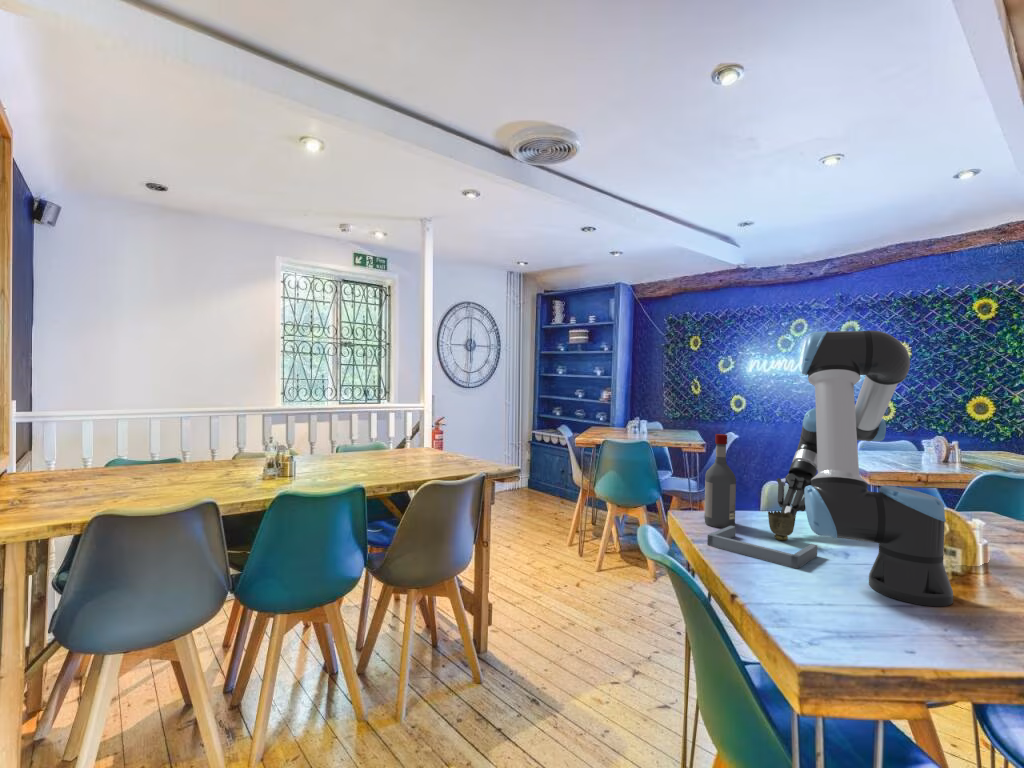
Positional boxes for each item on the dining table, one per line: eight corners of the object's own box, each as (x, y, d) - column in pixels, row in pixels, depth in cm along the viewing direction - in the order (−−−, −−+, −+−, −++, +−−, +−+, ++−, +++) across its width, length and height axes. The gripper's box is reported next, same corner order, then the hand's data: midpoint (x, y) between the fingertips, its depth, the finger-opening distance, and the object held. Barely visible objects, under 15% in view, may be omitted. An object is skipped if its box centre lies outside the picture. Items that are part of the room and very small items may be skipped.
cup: (799, 544, 149) (800, 517, 149) (773, 543, 150) (774, 516, 150) (788, 536, 156) (788, 510, 156) (763, 535, 157) (764, 509, 157)
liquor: (705, 526, 166) (707, 435, 166) (704, 519, 175) (706, 432, 174) (735, 529, 163) (737, 436, 163) (732, 522, 172) (734, 434, 171)
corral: (817, 556, 139) (817, 545, 139) (797, 568, 129) (797, 557, 129) (730, 535, 157) (730, 525, 157) (707, 544, 147) (707, 534, 147)
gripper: (829, 476, 164) (810, 538, 153) (786, 470, 174) (765, 528, 163) (824, 462, 161) (804, 523, 150) (780, 456, 170) (758, 514, 159)
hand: (783, 525), depth 156 cm, fingers closed
